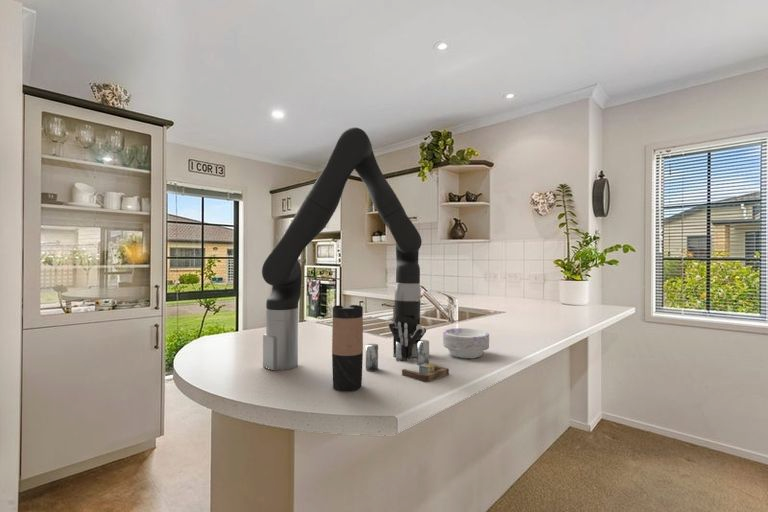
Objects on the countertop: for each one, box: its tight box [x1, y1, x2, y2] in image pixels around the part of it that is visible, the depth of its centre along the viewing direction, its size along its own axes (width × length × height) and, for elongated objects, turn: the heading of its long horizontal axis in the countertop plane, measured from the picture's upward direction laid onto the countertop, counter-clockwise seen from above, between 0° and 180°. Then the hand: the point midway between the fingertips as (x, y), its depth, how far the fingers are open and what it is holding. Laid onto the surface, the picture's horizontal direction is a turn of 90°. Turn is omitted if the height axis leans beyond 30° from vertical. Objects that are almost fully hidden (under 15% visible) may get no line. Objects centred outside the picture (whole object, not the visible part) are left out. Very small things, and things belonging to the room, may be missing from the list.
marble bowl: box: [442, 327, 490, 359], centre depth 126 cm, size 15×15×8 cm
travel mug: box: [331, 304, 364, 393], centre depth 94 cm, size 8×8×20 cm
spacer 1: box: [365, 343, 379, 372], centre depth 109 cm, size 4×4×7 cm
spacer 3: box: [416, 339, 430, 366], centre depth 115 cm, size 4×4×7 cm
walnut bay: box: [401, 363, 450, 383], centre depth 104 cm, size 10×8×2 cm
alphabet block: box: [418, 363, 435, 374], centre depth 103 cm, size 3×3×3 cm
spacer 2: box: [395, 338, 408, 362], centre depth 120 cm, size 4×4×7 cm
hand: (406, 358), depth 109 cm, fingers closed
